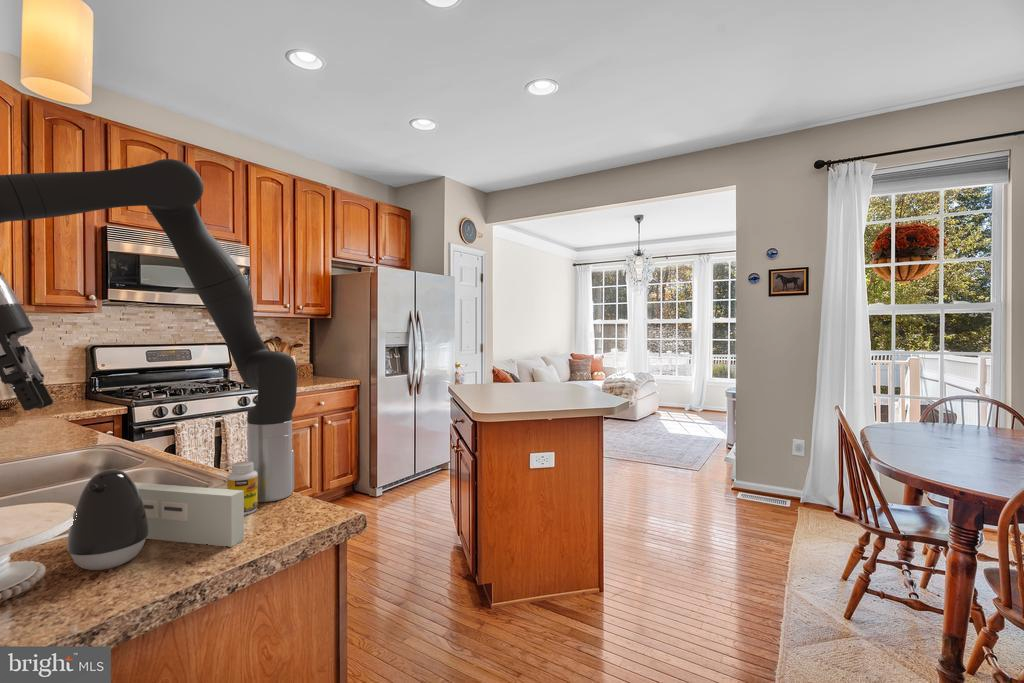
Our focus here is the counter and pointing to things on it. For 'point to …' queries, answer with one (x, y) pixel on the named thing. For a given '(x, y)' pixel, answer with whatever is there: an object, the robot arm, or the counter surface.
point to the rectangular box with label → (193, 514)
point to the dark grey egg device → (107, 522)
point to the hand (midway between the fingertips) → (40, 407)
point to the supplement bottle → (244, 484)
